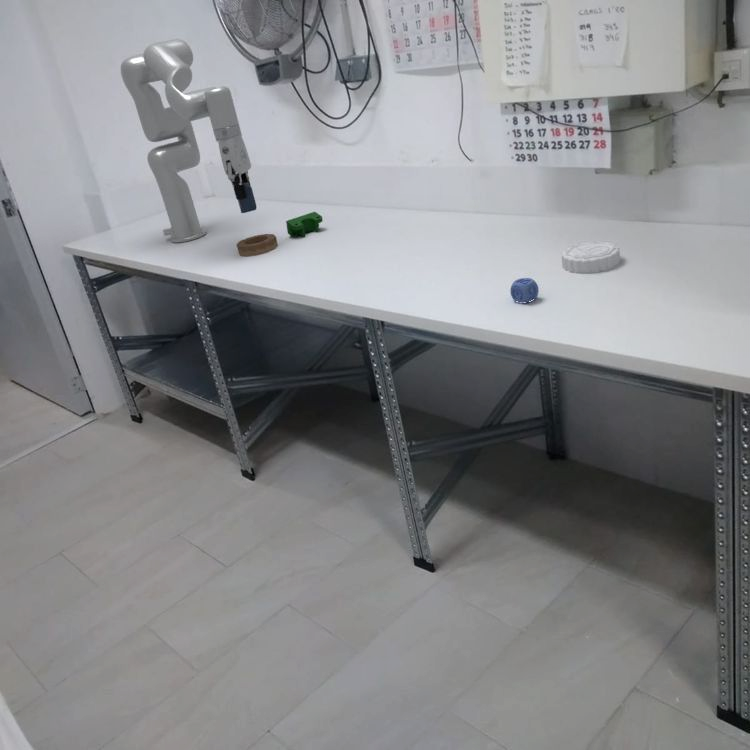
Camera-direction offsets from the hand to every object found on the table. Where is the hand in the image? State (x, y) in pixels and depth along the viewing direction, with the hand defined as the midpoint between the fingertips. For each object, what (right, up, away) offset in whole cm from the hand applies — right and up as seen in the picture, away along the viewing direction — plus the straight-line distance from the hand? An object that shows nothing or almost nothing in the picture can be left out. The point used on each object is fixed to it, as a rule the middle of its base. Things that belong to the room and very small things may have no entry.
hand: (244, 196), depth 217 cm
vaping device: (+1, -4, +2) cm, 5 cm away
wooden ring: (+3, -14, +7) cm, 17 cm away
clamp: (+17, -9, +14) cm, 24 cm away
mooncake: (+85, -29, -58) cm, 107 cm away
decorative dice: (+69, -38, -70) cm, 105 cm away
